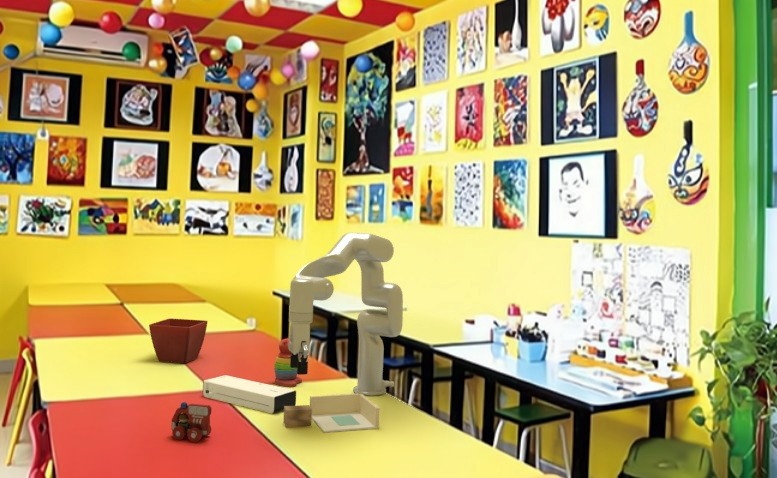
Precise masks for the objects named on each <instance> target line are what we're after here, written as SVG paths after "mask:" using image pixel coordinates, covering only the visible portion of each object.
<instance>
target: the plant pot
mask: <svg viewBox="0 0 777 478" xmlns="http://www.w3.org/2000/svg"><path fill="white" fill-rule="evenodd" d="M207 327H208V320H203V319H185V318H166V319H162V320H159V321H156V322H153V323H149V326H148V328H149V334H150V338H151V342H152V346H153V349H154V352H155V355H156V358H157V360H158V362H160V363H173V364H187V363H189V362H191V361H193V360H195V359H198V358H199V355H200V352H201V349H202V347H203V343H204V340H205V337H206V332H207Z"/></svg>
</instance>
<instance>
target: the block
mask: <svg viewBox="0 0 777 478" xmlns="http://www.w3.org/2000/svg"><path fill="white" fill-rule="evenodd" d="M311 417H312V409H311V408H310V404H309V405H307V404H303V405H301V404H300V405H295V406H284V410H283V425H284V427H285V428H286V429H287V428H303V427H306V428H307V427H312V418H311Z"/></svg>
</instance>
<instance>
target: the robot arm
mask: <svg viewBox="0 0 777 478" xmlns="http://www.w3.org/2000/svg"><path fill="white" fill-rule="evenodd" d="M394 248H395V247H394V246H393V243H392V241H391V240H390V239H388V238H385V237H382V236H379V235H376V234H372V233H366V232H363V233H362V232H348V233H344V234H343V235H342V236H341V237H340V238H339V240H337V242H335V244H334V246H332V248H331V249H330V250H329V251H328V252H327V254H325V255H323V256H321V257H319V258H317V259H315V260H312V261H310V262H308V263H306V264H304V266H302V267H301V268H300V269H299V271H298V272H297V273H296V274H295V275H294V277H293V278H292V280H291V281H290V284H289V285H290V287H289V306H288V310H289V312H288V322H289V323H290V326H289V330H288V331H289V333H288V338H289V342H288V349H289V351H291V359H290V367H291V368H297V376H298V375H299V376H300V375H307V374H308V371H309V366H308V365H309V355H308V354H309V353H310V344H311V343H310V342H311V324H312V323H313V320H314V317H313V316H314V301H320V302H321V301H327V300H329V299H330V298H331V297H332V295H333V294H334V291H335V290H334V289H335V288H334V284H333V282H332V281H331V280H330V279H328V278H329V277H333V276H337V275H341V274H343V273H345V272H346V270H348V268H349V267H350V265H351V264H352V263H353V262H354V261H356V262H357V263H358V265H359V269H360V271H361V273H360V274H361V278H360V279H361V284H360V286H361V291H360V292H361V294H360V295H361V301H362V303H363V305H365V306H368V307H372V308H373V307H375V308H382V309H386V310H382V309H372V308H368V309H364V310H362V311H360V313H358V315H357V317H356V318H357V321H356V325H357V330H358V331H357V333H358V361H357V363H358V364H357V385H355V386H353V388H352V392H353V393H354V394H357V393H362V394H363V395H364V396H368V397H369V396H382V395H384V394H386V392H387V387H389V388H390V387H394V386H395V382H394V381H389V380H384V379H383V372H384V371H383V370H384V369H383V368H384V350H385V348H384V342H383V340H382V338H381V337H388V338H396V337H398V336H399V335H400V334H401V333H402V329H403V323H404V322H403V321H404V316H403V315H404V314H403V313H404V311H403V309H404V308H403V307H404V298H403V291H402V288H401V287H400V285H399V284H396V283H393V282H385V278H384V277H385V276H384V274H385V273H384V267H383V264H382V263H388V262H389V261H390V260H391V259H392V258H393V256H394V251H395V250H394Z"/></svg>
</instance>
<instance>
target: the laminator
mask: <svg viewBox="0 0 777 478" xmlns="http://www.w3.org/2000/svg"><path fill="white" fill-rule="evenodd" d="M202 381H203V382H202V396H203V397H204V398H208V399H212V400H215V401H219V402H224V403H228V404H232V405H235V406H240V407H243V406H244V407H243V408H247V407H248V408H247V409H252V410H256V411H260V412H265V413H268V414H271V415H273V414H275V413H276V414H277V413H279V412H282V411H284V406H297V405H296V403H297V390H295V389H290V388H287V387H283V386H278V385H277V386H276V385H271V384H268V383H262V382H259V381H258V382H257V381H253V380H249V379H245V378H239V377H235V376H231V375H226V374H224V375H221V376H216V377H213V378H211V377H210V378H208V379H204V380H202Z"/></svg>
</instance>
